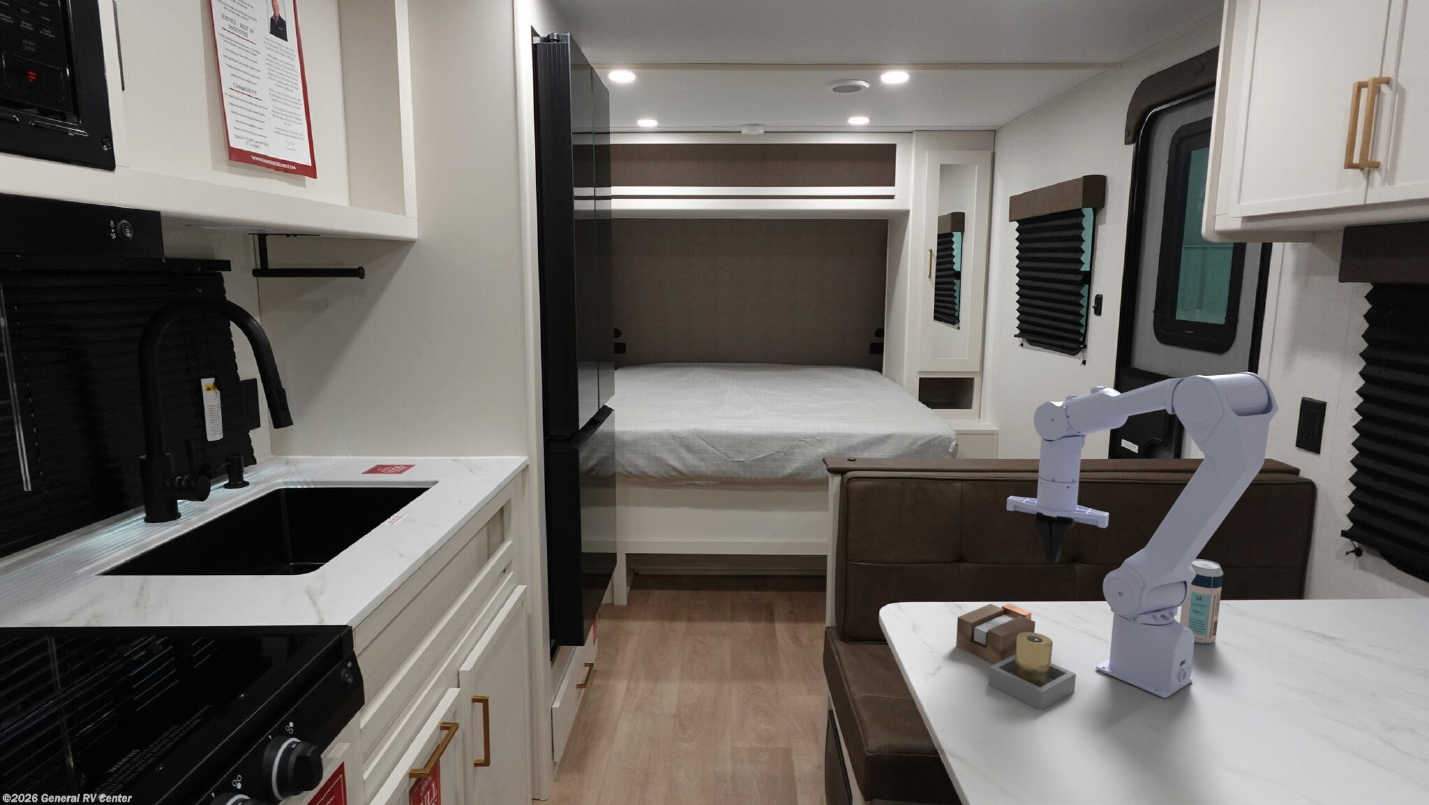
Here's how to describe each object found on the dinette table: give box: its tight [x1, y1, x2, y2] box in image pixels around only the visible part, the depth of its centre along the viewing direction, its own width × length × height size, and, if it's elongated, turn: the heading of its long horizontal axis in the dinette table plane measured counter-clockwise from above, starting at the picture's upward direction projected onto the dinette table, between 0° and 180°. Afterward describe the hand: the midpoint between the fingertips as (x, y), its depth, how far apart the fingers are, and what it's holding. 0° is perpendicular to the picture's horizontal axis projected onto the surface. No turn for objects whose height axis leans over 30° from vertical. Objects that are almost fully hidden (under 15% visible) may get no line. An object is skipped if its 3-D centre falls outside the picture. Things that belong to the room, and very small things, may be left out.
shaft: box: [974, 603, 1032, 645], centre depth 114 cm, size 4×10×4 cm, turn 125°
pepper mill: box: [1014, 632, 1054, 687], centre depth 102 cm, size 4×4×6 cm
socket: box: [987, 654, 1077, 711], centre depth 103 cm, size 8×8×2 cm
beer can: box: [1179, 558, 1224, 645], centre depth 115 cm, size 5×5×12 cm
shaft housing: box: [955, 603, 1036, 665], centre depth 113 cm, size 8×8×5 cm
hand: (1052, 561), depth 120 cm, fingers closed
